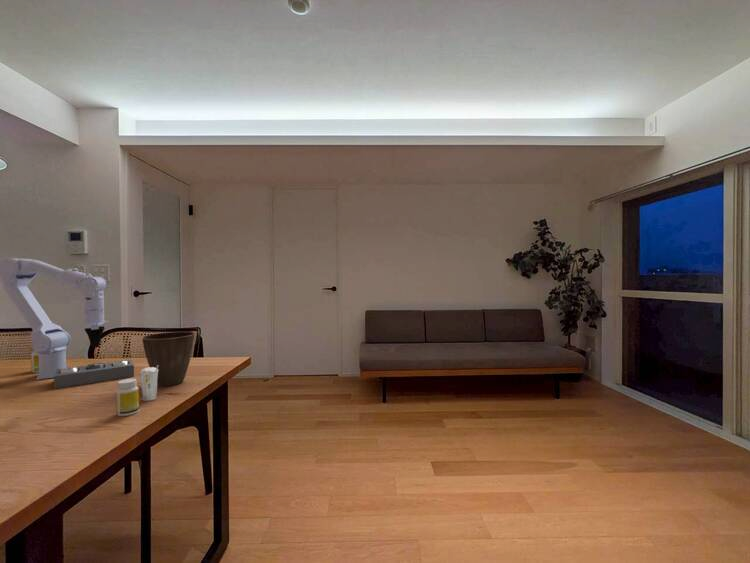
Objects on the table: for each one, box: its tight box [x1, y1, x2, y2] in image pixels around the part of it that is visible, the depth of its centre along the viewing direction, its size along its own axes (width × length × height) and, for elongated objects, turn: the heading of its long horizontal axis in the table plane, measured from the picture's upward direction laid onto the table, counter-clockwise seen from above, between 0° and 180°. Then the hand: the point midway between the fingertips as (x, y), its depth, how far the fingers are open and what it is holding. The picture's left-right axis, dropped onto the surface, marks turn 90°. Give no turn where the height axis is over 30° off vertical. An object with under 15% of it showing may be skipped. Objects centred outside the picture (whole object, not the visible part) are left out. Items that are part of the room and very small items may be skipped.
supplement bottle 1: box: [30, 347, 39, 374], centre depth 133 cm, size 5×5×10 cm
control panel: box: [53, 359, 135, 390], centre depth 122 cm, size 11×21×4 cm, turn 129°
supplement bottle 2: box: [115, 378, 140, 417], centre depth 91 cm, size 5×5×8 cm
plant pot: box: [141, 331, 195, 387], centre depth 117 cm, size 15×15×16 cm
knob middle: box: [87, 362, 105, 370], centre depth 122 cm, size 4×4×4 cm
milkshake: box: [139, 365, 159, 402], centre depth 101 cm, size 4×5×10 cm
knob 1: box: [60, 366, 78, 373], centre depth 118 cm, size 4×4×4 cm
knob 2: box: [112, 359, 129, 366], centre depth 127 cm, size 4×4×4 cm
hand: (95, 347), depth 128 cm, fingers closed
